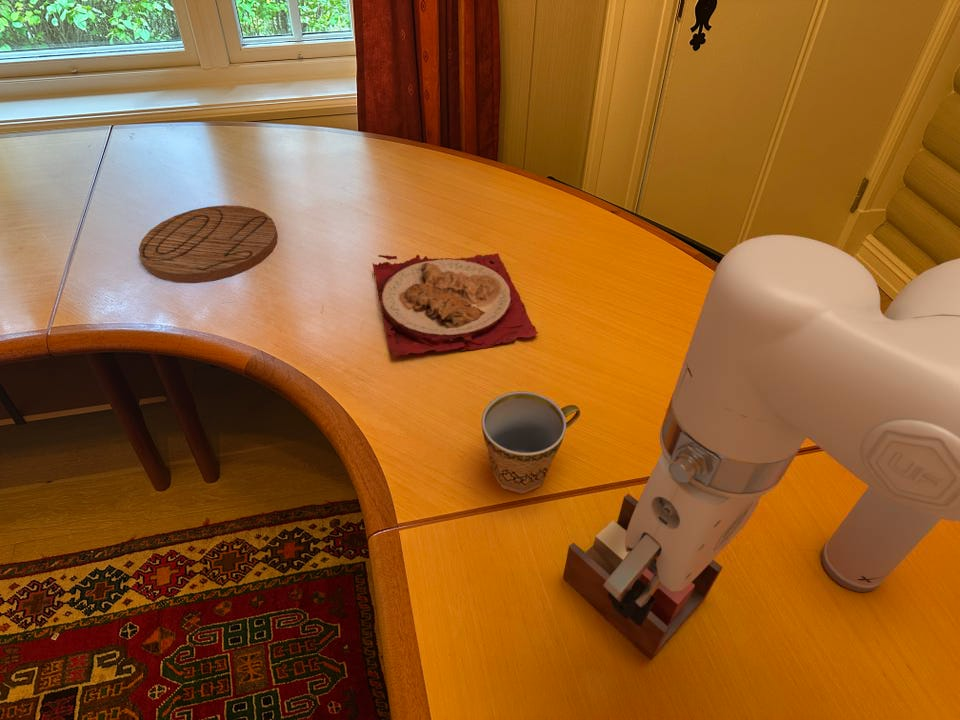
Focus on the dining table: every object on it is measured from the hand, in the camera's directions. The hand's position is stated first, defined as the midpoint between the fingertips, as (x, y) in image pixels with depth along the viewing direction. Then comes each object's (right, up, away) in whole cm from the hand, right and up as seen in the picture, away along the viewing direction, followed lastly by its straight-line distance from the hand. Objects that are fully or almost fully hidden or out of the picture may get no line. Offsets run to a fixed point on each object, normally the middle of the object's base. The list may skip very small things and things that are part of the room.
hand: (664, 570), depth 48 cm
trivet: (-67, +39, +69) cm, 104 cm away
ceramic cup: (-8, +3, +30) cm, 31 cm away
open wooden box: (+2, -8, +18) cm, 20 cm away
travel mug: (+27, -7, +20) cm, 35 cm away
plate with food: (-20, +27, +56) cm, 65 cm away
